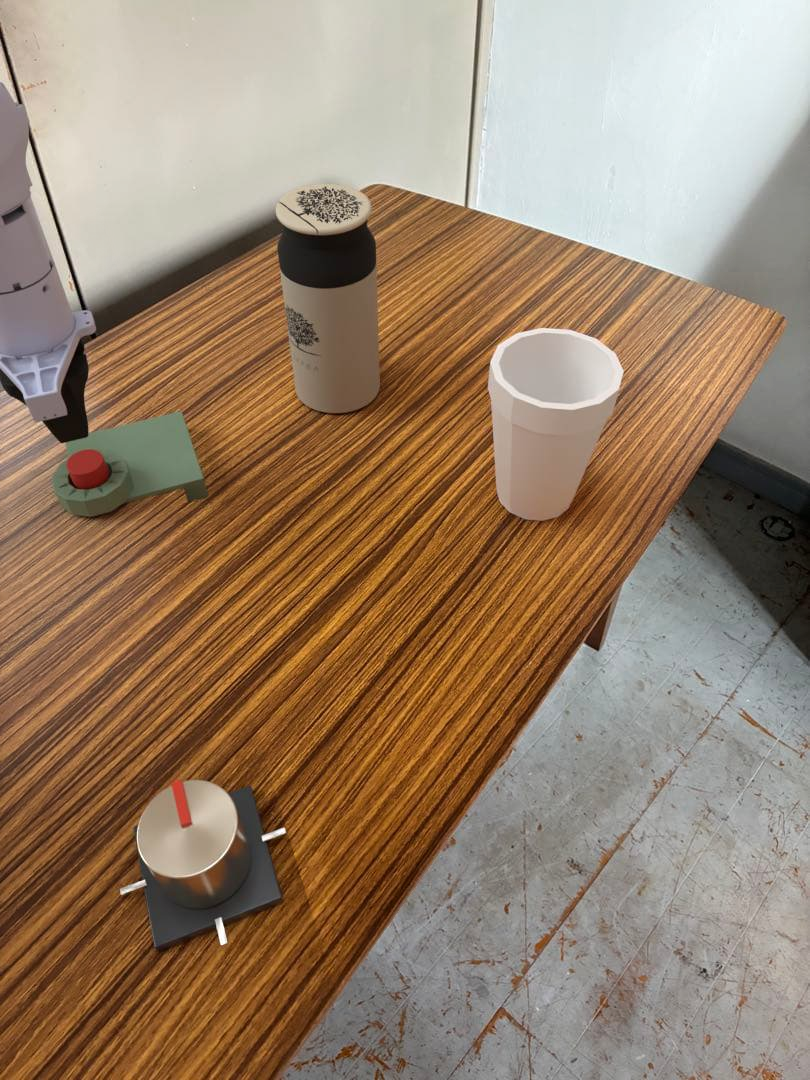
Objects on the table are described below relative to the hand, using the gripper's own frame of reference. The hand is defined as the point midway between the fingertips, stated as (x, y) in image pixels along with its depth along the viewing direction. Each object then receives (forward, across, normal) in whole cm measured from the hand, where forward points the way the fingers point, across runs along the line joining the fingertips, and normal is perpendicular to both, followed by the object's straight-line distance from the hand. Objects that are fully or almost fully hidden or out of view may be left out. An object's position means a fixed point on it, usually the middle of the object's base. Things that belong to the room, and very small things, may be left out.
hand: (73, 434), depth 61 cm
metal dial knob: (+6, -32, -2) cm, 33 cm away
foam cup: (+8, -11, -34) cm, 37 cm away
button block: (+8, +3, -3) cm, 9 cm away
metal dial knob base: (+8, -32, -2) cm, 33 cm away
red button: (+5, 0, 0) cm, 5 cm away
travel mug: (+8, +8, -23) cm, 25 cm away
